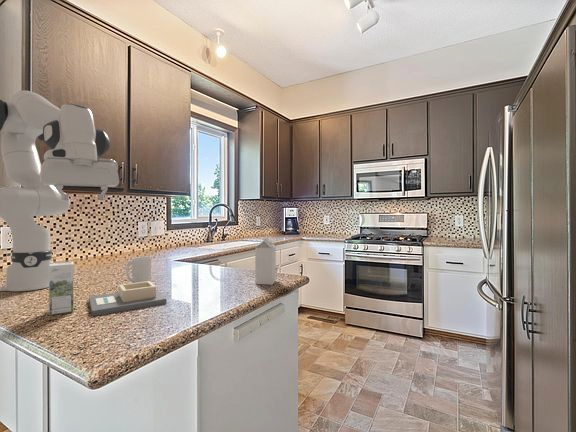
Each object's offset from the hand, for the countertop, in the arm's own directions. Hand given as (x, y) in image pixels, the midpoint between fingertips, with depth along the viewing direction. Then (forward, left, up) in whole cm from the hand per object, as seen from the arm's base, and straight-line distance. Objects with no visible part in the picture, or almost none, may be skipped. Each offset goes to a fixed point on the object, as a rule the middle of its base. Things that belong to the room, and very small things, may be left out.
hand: (83, 200), depth 91 cm
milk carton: (+7, +62, -33) cm, 71 cm away
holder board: (+3, +11, -33) cm, 35 cm away
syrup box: (+2, -6, -33) cm, 34 cm away
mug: (-14, +17, -33) cm, 40 cm away
